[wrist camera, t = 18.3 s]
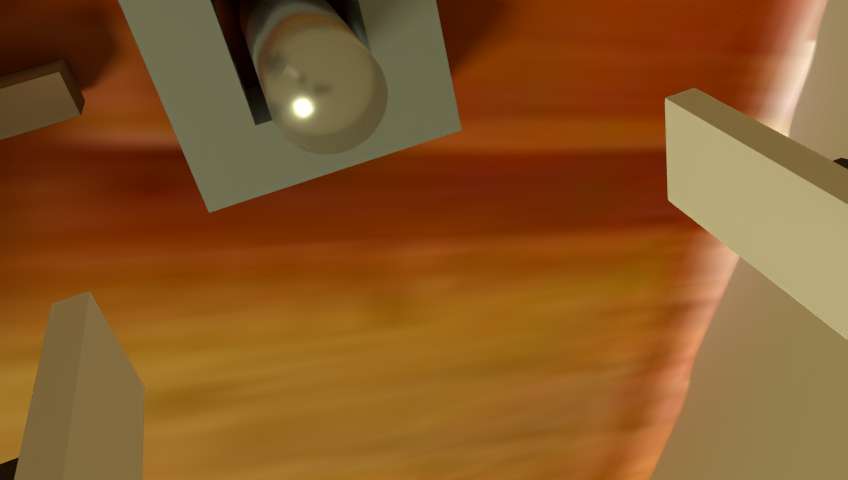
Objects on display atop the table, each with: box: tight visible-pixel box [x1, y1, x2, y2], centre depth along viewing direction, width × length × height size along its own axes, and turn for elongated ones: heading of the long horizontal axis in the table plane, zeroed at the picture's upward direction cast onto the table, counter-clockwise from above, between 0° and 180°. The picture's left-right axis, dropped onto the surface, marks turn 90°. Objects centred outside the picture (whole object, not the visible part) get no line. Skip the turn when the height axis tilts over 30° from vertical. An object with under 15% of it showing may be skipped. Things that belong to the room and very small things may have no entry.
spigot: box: [239, 0, 388, 155], centre depth 30 cm, size 4×4×12 cm
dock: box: [118, 0, 461, 212], centre depth 33 cm, size 12×12×5 cm
